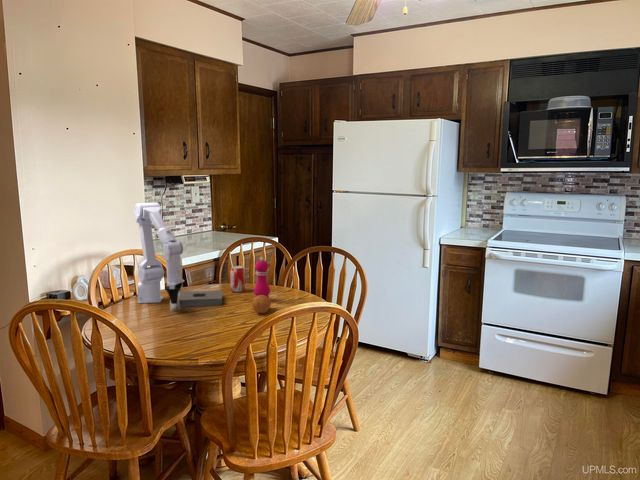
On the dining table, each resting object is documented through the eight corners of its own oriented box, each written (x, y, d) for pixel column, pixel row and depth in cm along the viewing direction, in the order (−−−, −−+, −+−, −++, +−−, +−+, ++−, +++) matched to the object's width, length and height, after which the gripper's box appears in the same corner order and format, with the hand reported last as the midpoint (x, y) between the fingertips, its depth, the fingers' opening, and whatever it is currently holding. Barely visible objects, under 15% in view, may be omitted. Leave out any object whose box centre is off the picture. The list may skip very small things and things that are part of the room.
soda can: (243, 292, 229) (243, 268, 227) (229, 292, 229) (228, 268, 227) (246, 289, 236) (245, 265, 234) (232, 289, 236) (231, 265, 234)
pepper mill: (271, 298, 219) (271, 256, 216) (268, 302, 212) (268, 258, 209) (256, 298, 220) (255, 255, 217) (252, 302, 213) (251, 258, 210)
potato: (249, 315, 193) (249, 298, 192) (256, 306, 206) (256, 290, 205) (266, 316, 192) (266, 299, 191) (273, 307, 205) (273, 291, 204)
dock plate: (174, 307, 205) (173, 300, 204) (178, 298, 218) (177, 292, 218) (221, 305, 208) (221, 298, 207) (222, 296, 222) (222, 290, 221)
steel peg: (169, 311, 199) (168, 290, 197) (171, 308, 202) (170, 287, 201) (179, 310, 199) (178, 289, 198) (180, 308, 203) (180, 287, 202)
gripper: (181, 273, 192) (182, 306, 194) (185, 266, 206) (186, 296, 208) (163, 274, 191) (164, 306, 193) (168, 267, 205) (170, 297, 207)
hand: (175, 301), depth 200 cm, fingers open, 5 cm apart
